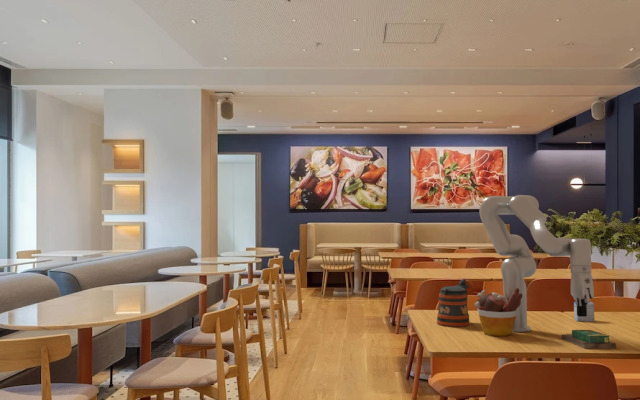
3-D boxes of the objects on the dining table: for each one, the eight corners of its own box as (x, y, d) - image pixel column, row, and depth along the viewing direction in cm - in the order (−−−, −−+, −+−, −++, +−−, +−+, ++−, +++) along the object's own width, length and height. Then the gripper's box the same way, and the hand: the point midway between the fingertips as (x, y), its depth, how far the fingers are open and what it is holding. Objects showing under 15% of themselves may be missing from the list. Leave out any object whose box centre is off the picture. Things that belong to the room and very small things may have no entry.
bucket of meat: (466, 333, 236) (466, 286, 237) (486, 328, 248) (485, 283, 248) (511, 340, 222) (511, 290, 223) (530, 334, 233) (529, 286, 234)
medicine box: (591, 320, 267) (590, 301, 268) (594, 321, 263) (594, 303, 263) (573, 319, 268) (573, 301, 269) (577, 321, 264) (576, 303, 264)
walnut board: (584, 348, 208) (584, 343, 208) (561, 338, 226) (561, 333, 226) (616, 348, 208) (615, 343, 208) (590, 338, 226) (590, 333, 226)
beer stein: (450, 318, 271) (450, 277, 272) (479, 322, 262) (478, 279, 263) (431, 324, 257) (430, 280, 258) (460, 328, 247) (460, 282, 248)
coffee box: (591, 329, 222) (609, 335, 209) (591, 336, 222) (610, 343, 209) (571, 329, 222) (588, 335, 208) (571, 336, 221) (588, 343, 208)
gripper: (600, 271, 215) (601, 319, 214) (580, 268, 230) (581, 313, 229) (581, 271, 215) (582, 319, 214) (562, 268, 230) (563, 313, 229)
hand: (581, 316), depth 222 cm, fingers closed
